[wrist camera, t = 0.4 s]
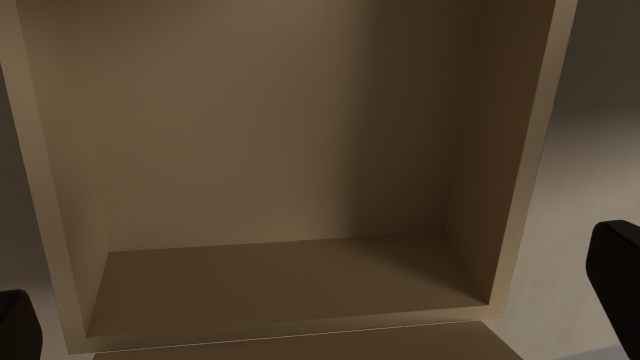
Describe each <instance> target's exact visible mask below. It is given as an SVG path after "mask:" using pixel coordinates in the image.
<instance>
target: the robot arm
mask: <svg viewBox="0 0 640 360" xmlns="http://www.w3.org/2000/svg"><path fill="white" fill-rule="evenodd" d="M586 272H587V276H588V278H589V280H590V282H591V284H592V286H593V288H594V290H595V292H596V294H597V296H598V298H599V300H600V302H601V304H602V306H603V308H604V310H605V312H606V314H607V316H608V318H609V320H610V323H611V325H612V327H613V329H614V331H615V333H616V335H617V337H618V339H619V341H620V343H621V344H622V346H623V348H624V350H625V352H626V354H627V355H628V357H629V358H630V360H640V226H637V225H635V224H632V223H630V222H627V221H624V220H612V221H604V222H599V223H598V224H596V225H595V227H594V228H593V232H592V236H591V241H590V245H589V250H588V254H587V259H586ZM42 343H43V336H42V330H41V327H40V324H39V321H38V319H37V316H36V313H35V311H34V308H33V305H32V303H31V300H30V297H29V295H28V294H27V293H26V291H24V290H22V289H16V290H7V291H0V360H40V356H41V350H42Z"/></svg>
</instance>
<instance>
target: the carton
mask: <svg viewBox="0 0 640 360" xmlns="http://www.w3.org/2000/svg"><path fill="white" fill-rule="evenodd" d="M577 4H578V0H0V63H1V67H2V71H3V76H4V80H5V84H6V89H7V93H8V97H9V102H10V106H11V110H12V114H13V119H14V123H15V127H16V132H17V136H18V140H19V144H20V149H21V153H22V157H23V162H24V166H25V170H26V174H27V179H28V183H29V187H30V192H31V196H32V200H33V204H34V209H35V213H36V217H37V222H38V226H39V230H40V234H41V239H42V243H43V247H44V252H45V256H46V260H47V264H48V269H49V273H50V277H51V282H52V286H53V290H54V295H55V299H56V303H57V307H58V312H59V316H60V320H61V325H62V329H63V333H64V337H65V342H66V346H67V350H68V355H71V354H82V353H94V352H106V351H117V350H129V349H141V348H153V347H164V346H176V345H188V344H199V343H211V342H223V341H235V340H246V339H258V338H270V337H281V336H293V335H305V334H316V333H328V332H340V331H352V330H363V329H375V328H387V327H398V326H410V325H422V324H434V323H445V322H457V321H469V320H480V319H492V318H502V317H503V313H504V309H505V305H506V300H507V296H508V292H509V288H510V284H511V279H512V275H513V271H514V267H515V263H516V259H517V254H518V250H519V246H520V242H521V238H522V234H523V229H524V225H525V221H526V217H527V213H528V208H529V204H530V200H531V196H532V192H533V188H534V183H535V179H536V175H537V171H538V167H539V162H540V158H541V154H542V150H543V146H544V142H545V137H546V133H547V129H548V125H549V121H550V116H551V112H552V108H553V104H554V100H555V96H556V91H557V87H558V83H559V79H560V75H561V70H562V66H563V62H564V58H565V54H566V50H567V45H568V41H569V37H570V33H571V29H572V24H573V20H574V16H575V12H576V8H577Z"/></svg>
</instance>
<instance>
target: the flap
mask: <svg viewBox="0 0 640 360" xmlns="http://www.w3.org/2000/svg"><path fill="white" fill-rule="evenodd" d="M93 360H523V359H522V358H521V357H520V356H519V355H518V354H517V353H515V352H514V351H513V350H512V349H511V348H510V347H509V346H508V345H507V344H506V343H505V342H503V341H502V340H501V339H500V338H499V337H498V336H497V335H496V334H495V333H494V332H493V331H491V330H490V329H489V328H488V327H487V326H486V325H485V324H484V323H483V322H482V321H470V322H458V323H446V324H435V325H423V326H411V327H400V328H388V329H376V330H365V331H353V332H341V333H329V334H318V335H306V336H294V337H283V338H271V339H259V340H248V341H236V342H224V343H213V344H201V345H189V346H178V347H166V348H154V349H143V350H131V351H119V352H108V353H96V354H95V356H94V358H93Z"/></svg>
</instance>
